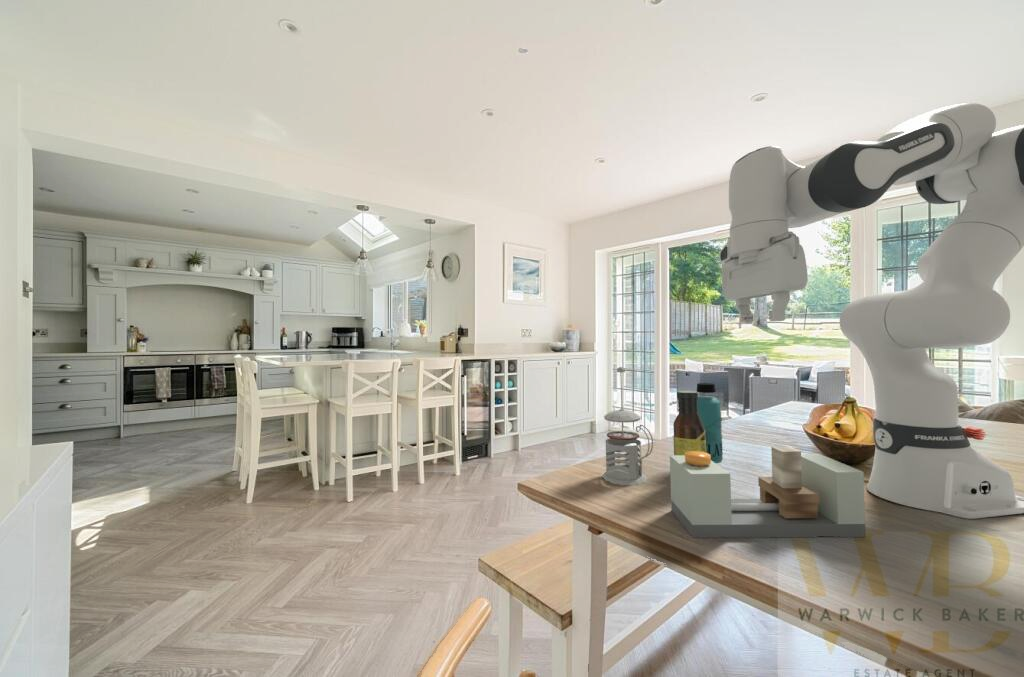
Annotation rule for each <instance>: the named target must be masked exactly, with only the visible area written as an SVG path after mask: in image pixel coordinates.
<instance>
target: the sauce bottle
mask: <svg viewBox="0 0 1024 677" xmlns="http://www.w3.org/2000/svg"><path fill="white" fill-rule="evenodd" d="M698 394H699V392H697V390H696V391H695V390H679V391H677V392H676V396H677V397H676V398H677V404H678V408H677V410H678V415H677V416H676V418H675V419H674V421H673V437H672V438H673V456H674V455H685V452H688V451H700V452H705V453H706V438H705V428H704V426H703V423H702V421H701V418H700V416H699V413H698V408H697V399H698V397H699V395H698Z"/></svg>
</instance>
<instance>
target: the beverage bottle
mask: <svg viewBox="0 0 1024 677" xmlns="http://www.w3.org/2000/svg"><path fill="white" fill-rule="evenodd" d="M696 392H697V393H705V394H709V393H710V394H712V393H716V385H715V383H713V382H697V384H696ZM721 403H722V402H721V401H720V400H719V399H718V398H717V397H715V396H710V395H709V396H708V395H701V396H699V395H698V399H697V408H698V413H699V416H700V418H701V421H702V423H703V426H704V428H705V438H706V453H708V454H710V455H711V461H713V462H714V463H716V464H720V463H722V461H723V458H724V456H723V455H724V452H723V434H722V432H723V429H722V423H723V422H722V421H723V418H722V414H723V412H722V411H721V410H722V409H721V407H722V406H721V405H722V404H721Z"/></svg>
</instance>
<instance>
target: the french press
mask: <svg viewBox="0 0 1024 677" xmlns="http://www.w3.org/2000/svg"><path fill="white" fill-rule="evenodd" d="M616 373H620V400H621V401H620V402H621V404H620V405H621V406H620V407H621V408H619V409H616V410H612V411H610V412H609V411H608V412H607V413H606V414H605V415H604V416H603V419H604V420H605V421H607V422H612V423H621V430H612V431H610V432H609V431H608V432H607V433H606V437H607V439H606V440H605V466H606V471H605V472H604V473H603V474H602V475H603V478H604V479H605V480H606V481H605V480H604V479H603V480H604V481H605V482H607V481H609V482H611V483H610V484H612V483H613V485H617V484H618V486H630V485H631V486H637V485H636V484H639V485H641V483H642V484H644V483H643V482H645V483H646V482H647V476H645V475H644V473H643V460H644V459H645V458H647V457H648V456H650V455H651V453H652V452H653V447H654V439H653V435H652V432H650V430H649V429H648V428H647V427H646V426H645V425H643V424H640V425H637V426H636V427H635V431H636V432H633V431H626V430H624V424H625V423H634V422H635V423H636V422H638V421H640V420H641V419H642V417H641V416H640V415H639V414H637V413H635V412H634V411H632V410H628V409H624V408H623V387H622V386H623V384H622V383H623V382H622V381H623V380H622V373H626V369H625V368H624V367H623V366H619V367H617V368H616ZM638 428H639V429H638ZM643 428H644V429H645V430H646V431H647V432H648V433H649V435H650V438H649V436H648V434H647V432H646V431H645V430H644V429H643ZM641 430H642V431H643V433H644V434H645V436H646V439H647V443H648V444H647V445H648V447H647V452H646V453H645V455H644V456H642V441H641V440H640V439H639V438H640V434H639V432H641ZM650 439H651V444H650ZM630 444H635V445H630ZM650 445H651V448H650ZM624 452H625V453H624ZM623 453H624V454H623ZM621 458H622V459H621ZM623 458H624V459H623ZM621 464H622V465H621ZM609 482H608V483H609Z"/></svg>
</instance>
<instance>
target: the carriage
mask: <svg viewBox="0 0 1024 677" xmlns="http://www.w3.org/2000/svg"><path fill="white" fill-rule="evenodd" d="M770 451H771V476H758V478H757V479H758V480H757V481H758V487H759V499H760V500H761V501H762V502H763V503H779V514H780V515H781V516H783V517H784V518H818V504H819V494H818V493H817V492H815V491H813V490H811V489H809V488H808V487H806V486H804V485H802V467H801V454H802V450H798V449H797V448H794V447H792V446H789V445H788V446H771V450H770Z"/></svg>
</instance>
